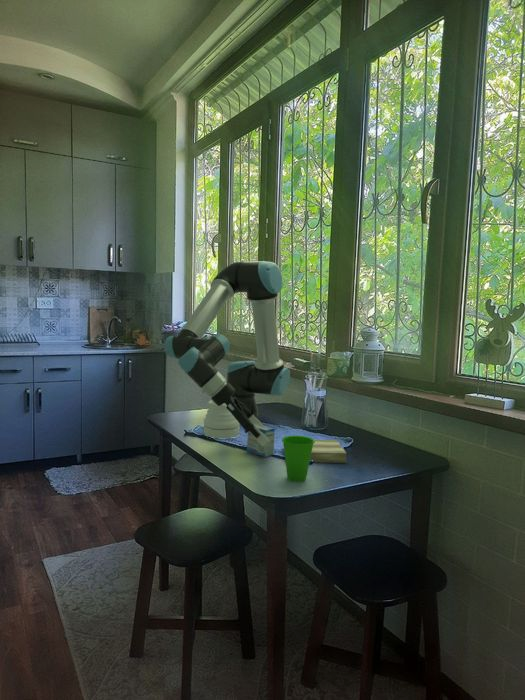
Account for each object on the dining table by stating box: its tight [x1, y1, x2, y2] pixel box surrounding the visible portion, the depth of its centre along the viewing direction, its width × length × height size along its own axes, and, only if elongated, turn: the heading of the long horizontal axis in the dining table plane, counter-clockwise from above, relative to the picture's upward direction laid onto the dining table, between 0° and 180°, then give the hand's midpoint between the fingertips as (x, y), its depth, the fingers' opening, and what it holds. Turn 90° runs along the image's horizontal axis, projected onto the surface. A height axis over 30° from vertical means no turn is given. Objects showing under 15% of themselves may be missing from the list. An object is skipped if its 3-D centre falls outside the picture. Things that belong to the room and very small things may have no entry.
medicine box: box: [246, 424, 276, 458], centre depth 156 cm, size 8×4×9 cm, turn 50°
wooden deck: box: [282, 439, 347, 464], centre depth 157 cm, size 14×18×3 cm
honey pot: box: [203, 399, 241, 438], centre depth 176 cm, size 13×13×18 cm
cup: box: [281, 434, 315, 483], centre depth 135 cm, size 9×9×11 cm
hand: (264, 437), depth 156 cm, fingers open, 13 cm apart
